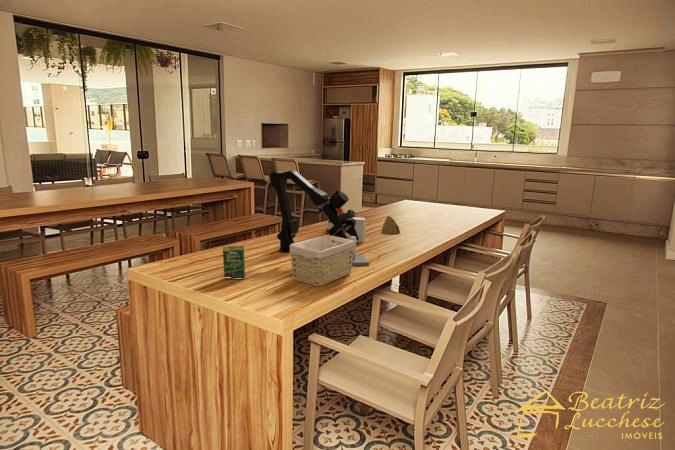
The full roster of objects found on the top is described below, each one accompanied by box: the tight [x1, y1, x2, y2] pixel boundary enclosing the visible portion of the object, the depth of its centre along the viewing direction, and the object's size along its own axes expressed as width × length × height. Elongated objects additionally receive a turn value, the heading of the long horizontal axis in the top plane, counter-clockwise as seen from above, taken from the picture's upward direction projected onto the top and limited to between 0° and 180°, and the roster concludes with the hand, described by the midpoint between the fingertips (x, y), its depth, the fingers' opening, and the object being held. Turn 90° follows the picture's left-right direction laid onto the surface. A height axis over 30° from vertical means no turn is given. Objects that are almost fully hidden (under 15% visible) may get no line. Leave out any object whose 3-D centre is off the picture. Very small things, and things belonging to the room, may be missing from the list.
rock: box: [380, 215, 401, 234], centre depth 261 cm, size 11×9×10 cm
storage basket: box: [289, 234, 354, 287], centre depth 176 cm, size 24×16×15 cm
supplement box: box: [351, 216, 367, 244], centre depth 238 cm, size 7×7×13 cm
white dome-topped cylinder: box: [346, 235, 357, 260], centre depth 199 cm, size 4×4×10 cm
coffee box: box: [222, 245, 246, 279], centre depth 170 cm, size 8×3×13 cm, turn 90°
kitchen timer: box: [326, 207, 347, 234], centre depth 262 cm, size 14×14×15 cm
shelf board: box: [352, 254, 370, 267], centre depth 199 cm, size 14×12×2 cm
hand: (354, 241), depth 197 cm, fingers open, 9 cm apart
